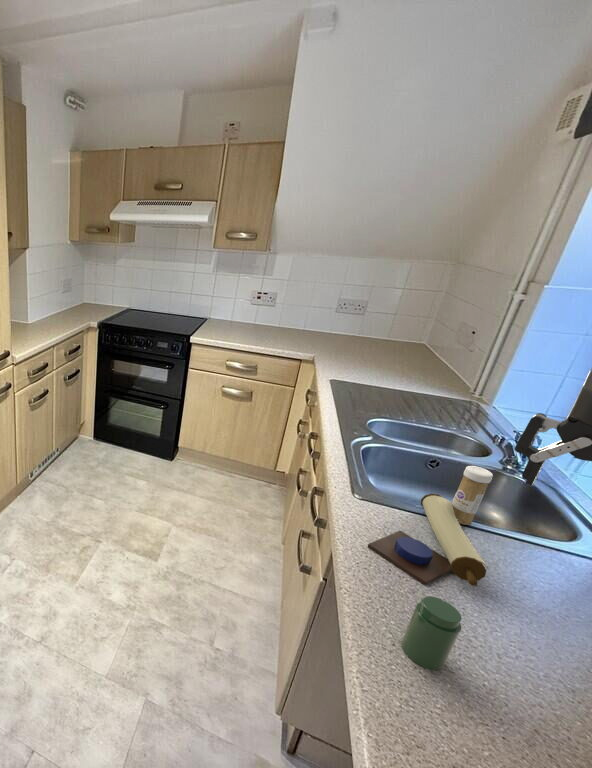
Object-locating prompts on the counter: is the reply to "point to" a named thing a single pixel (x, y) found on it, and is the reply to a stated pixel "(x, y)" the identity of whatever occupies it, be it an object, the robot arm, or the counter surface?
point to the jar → (431, 633)
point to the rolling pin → (453, 539)
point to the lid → (413, 550)
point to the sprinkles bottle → (470, 493)
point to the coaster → (417, 571)
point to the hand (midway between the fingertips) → (572, 498)
